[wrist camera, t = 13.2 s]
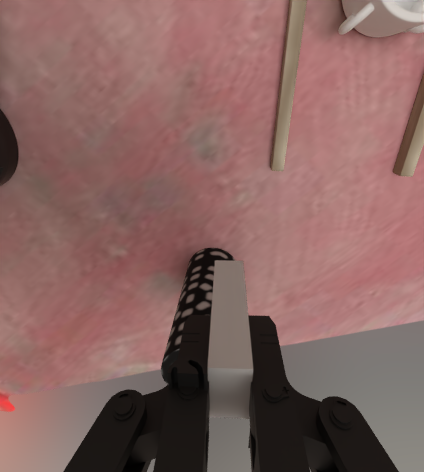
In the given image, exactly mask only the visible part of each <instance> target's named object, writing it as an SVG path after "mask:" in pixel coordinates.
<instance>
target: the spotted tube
mask: <svg viewBox="0 0 424 472" xmlns="http://www.w3.org/2000/svg"><path fill="white" fill-rule="evenodd" d="M215 260H222V261H235V259H234V258H233V257H232V256H231V255H230V254H229V253H228V252H226V251H224V250H221V249H217V248H207V249H203V250H200V251H199V252H197V253H196V254H195V255H194V256H193V257H192V258H191V260H190V262H189V266H188V269H187V273H186V277H185V280H184V284H183V288H182V291H181V295H180V299H179V303H178V306H177V310H176V314H175V317H174V321H173V325H172V329H171V332H170V336H169V340H168V343H167V347H166V351H165V354H164V358H163V362H162V366H161V372H162V376H163V379H164V381H165V382H166V383H167V385H168V378H167V371H168V369H169V367H170V365H171V364H172V363H173V362H174V361H176V360H177V359H178V354H179V348H180V343H181V337H182V332H183V326H184V323H185V321H186V320H187V318H188V317H189V316H190V315H211V310H212V296H213V281H214V267H215Z"/></svg>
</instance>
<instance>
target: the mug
mask: <svg viewBox="0 0 424 472" xmlns="http://www.w3.org/2000/svg"><path fill="white" fill-rule="evenodd" d="M342 5H343V10H344V13H345V15H346V18H347V19H346V20H345V21H344V22H343V23H342V24H341V25H340V27H339V29H338V32H339V34H341V35H343V34H345V33H347V32H349V31H350V30H351V29H353V28H354V29H355V30H357V31H358V32H360V33H361V34H363V35H366V36H369V37H376V38H380V37H387V36H391V35H395V34H398V33H401V32H409V31H410V32H412V33H423V32H424V0H342Z"/></svg>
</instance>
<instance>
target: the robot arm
mask: <svg viewBox="0 0 424 472" xmlns="http://www.w3.org/2000/svg"><path fill="white" fill-rule="evenodd" d="M17 160H18V149H17V143H16V139H15V136H14V133H13V130H12V128H11V126H10V124H9V122H8V120H7V119H6V117H5V116H4V114H3V113H2V111H1V110H0V185H2V184H4V183H5V182H6V181H8V180H9V179H10V177H11V176H12V175H13V173H14V171H15V169H16V165H17ZM167 378H168V385H167V386H166V387H164V388H163V389H161V390H159V391H156V392H153V393H150V394H146V395H143V396H142V395H141V393H139V392H137V391H136V390H124V391H120V392H119V393H117V394H116V395H114V396H112V397H111V399H110V400H109V401H108V402H107V403H106V405H105V407H104V408H103V410H102V411H101V413H100V414H99V416H98V417H97V419H96V421H95V422H94V424H93V426H92V427H91V429H90V430H89V432H88V434H87V435H86V437H85V438H84V440H83V441H82V443H81V445H80V446H79V448H78V449H77V451H76V452H75V454H74V456H73V457H72V459H71V461H70V462H69V464H68V465H67V467H66V468H65V470H64V472H147V469H148V467H149V465H150V462H151V460H152V459H155V458H156V460H155V466H154V471H153V472H207V462H208V442H209V417H223V418H246V419H249V416H250V436H249V448H250V452H251V468H252V472H310V469H311V472H399V471H398V470H397V468H396V467H395V465H394V464H393V462H392V460H391V459H390V458H389V456H388V454H387V453H386V452H385V450H384V448H383V447H382V445H381V444H380V442H379V441H378V439H377V437H376V436H375V434H374V433H373V431H372V430H371V428H370V427H369V425H368V424H367V422H366V420H365V419H364V417H363V416H362V414H361V413H360V411H358V409H357V408H356V407H355V406H354V405H353V404H352V403H350V402H349V401H347V400H346V399H343V398H340V397H327V398H325V399H323V400H322V402H320V401H317V400H315V399H312V398H309V397H306V396H304V395H302V394H300V393H299V392H297V391H296V390H295V389H294V388H293V387H292V386H291V385H290V383H289V382H288V380H287V377H286V375H285V370H284V365H283V360H282V355H281V350H280V345H279V340H278V337H277V330H276V325H275V324H274V322H273V321H272V320H271V318H270V317H269V316H248V307H247V297H246V286H245V275H244V265H243V261H222V260H215V267H214V281H213V296H212V310H211V315H190V316H189V317H188V318H187V320H186V321H185V323H184V326H183V332H182V337H181V343H180V348H179V354H178V359H177V360H176V361H174V362H173V363H172V364H171V365H170V367H169V369H168V371H167ZM309 467H310V469H309Z"/></svg>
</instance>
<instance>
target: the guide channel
mask: <svg viewBox="0 0 424 472" xmlns="http://www.w3.org/2000/svg"><path fill="white" fill-rule="evenodd" d="M306 3H307V0H290V2H289V10H288V19H287V27H286V36H285V45H284V53H283V62H282V70H281V79H280V87H279V96H278V105H277V113H276V122H275V130H274V139H273V147H272V156H271V165H270V168H271V170H272V171H283V170H284V162H285V155H286V148H287V141H288V133H289V126H290V119H291V112H292V104H293V97H294V90H295V83H296V75H297V68H298V61H299V54H300V47H301V39H302V32H303V25H304V18H305V10H306ZM423 144H424V74H423V77H422V80H421V84H420V87H419V90H418V93H417V96H416V100H415V103H414V106H413V109H412V112H411V116H410V119H409V122H408V125H407V128H406V131H405V135H404V138H403V141H402V144H401V147H400V151H399V154H398V157H397V160H396V163H395V167H394V170H393V173H395V174H397V175H399V176H410V177H412V176H413V173H414V170H415V167H416V164H417V162H418V159H419V156H420V153H421V150H422V147H423Z"/></svg>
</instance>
